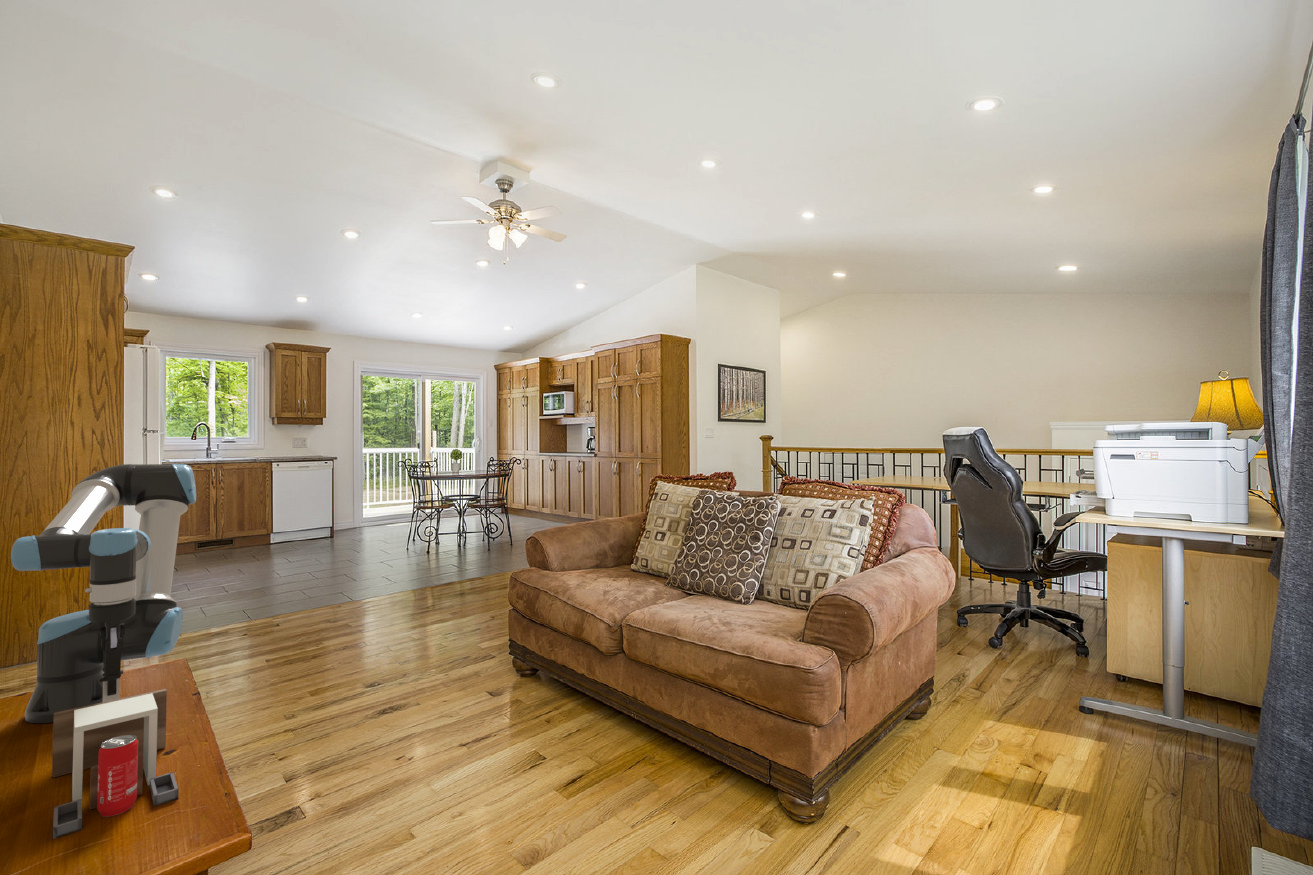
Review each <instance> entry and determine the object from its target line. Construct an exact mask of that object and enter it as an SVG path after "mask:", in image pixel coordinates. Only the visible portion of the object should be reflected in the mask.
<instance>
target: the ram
mask: <svg viewBox="0 0 1313 875" xmlns="http://www.w3.org/2000/svg"><path fill="white" fill-rule="evenodd" d="M151 693H153V696H154V699H155V702H156V705H157V708H158V714H157V750H161V749H163V748H166V738H167V734H166V733H167V702H168V700H167V697H168V696H167V695H168V691H167V688H163V689H159V690H158V689H157V690H152V691H150V692H149V691H148V692H144V693H140V694H135V695H131V696H125V697H120V699H116V700H111V701H106V702H102V703H97V704H93V705H88V706H83V707H79V708H74V709H69V710H65V711H60V712H56V713H54V721H53V722H52V724H53V725H52V726H53V727H52V755H51V756H52V757H51V758H52V763H51V779H52V778H55V777H56V778H57V777H61V776H64V775H67V774H71V773H72V774H73V739H74V710H77V709H82V708H87V707H91V706H96V705H100V704H105V703H109V702H114V701H119V700H123V699H128V698H132V697H137V696H142V695H146V694H151ZM124 735H135V736H136V737H137V738H136V739H137V740H138V770H137V796H139V795H142V794H143V780H144V778H143V777H144V776H143V774H144V768H143V746H144V717H141V718H137V719H133V720H129V721H125V722H120V723H116V724H112V725H108V726H104V727H99V728H95V729H91V730H87V731H84V741H83V770H86V769H89V768H90V780H89V782H90V785H89V787H90V788H89V810H94V809H97V796H98V757H99V750H100V748H101V745H102V743H104V742H105V741H107V740H109V739H112V738H115V737H119V736H124Z"/></svg>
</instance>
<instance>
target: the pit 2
mask: <svg viewBox="0 0 1313 875" xmlns="http://www.w3.org/2000/svg"><path fill="white" fill-rule="evenodd" d="M149 791H150V794H151V795H150V796H151V800H152V804H153V807H156V806H159V805H160V806H161V805H163V804H166V803H170V802H173V801H175V800H178V799H179V787H178V784H177V779H176V776H175V774H174V771H172V772H168V773H165V774H161V775H159V776H156V777H154V778H151V779H150V785H149Z"/></svg>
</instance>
